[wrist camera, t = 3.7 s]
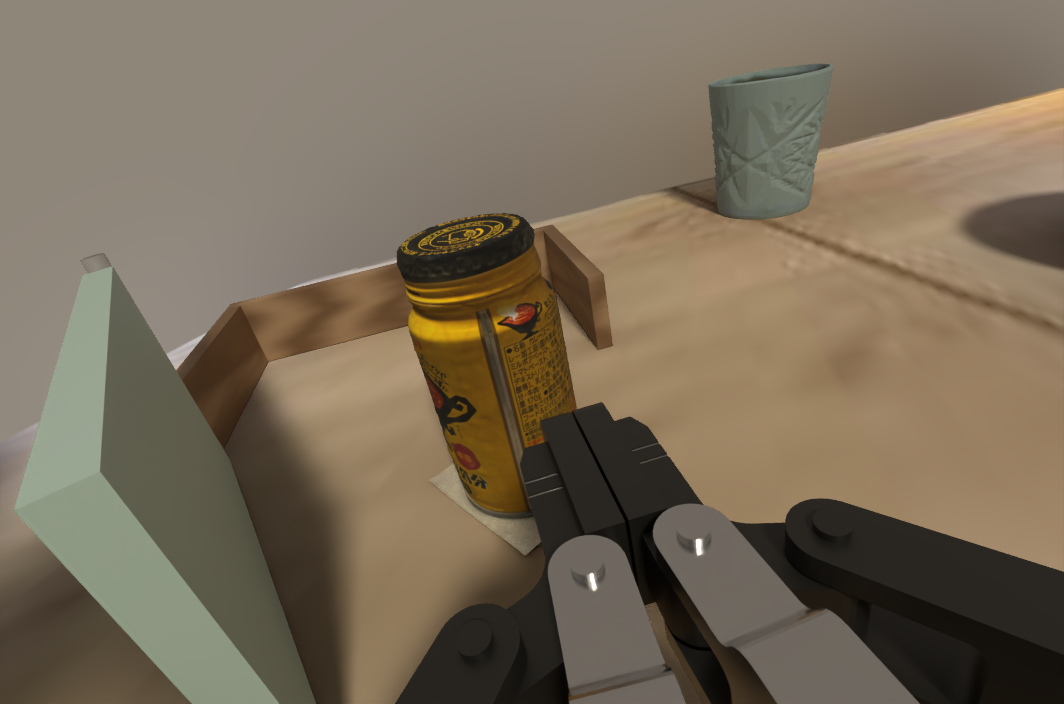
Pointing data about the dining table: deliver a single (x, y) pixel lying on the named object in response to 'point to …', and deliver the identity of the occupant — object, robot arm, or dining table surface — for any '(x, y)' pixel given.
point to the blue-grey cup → (767, 139)
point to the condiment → (487, 359)
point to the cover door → (154, 509)
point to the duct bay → (350, 324)
